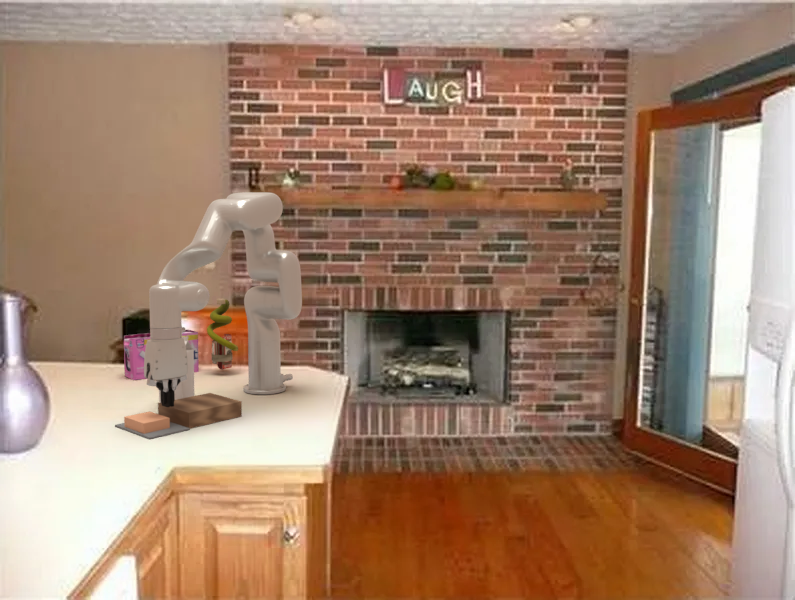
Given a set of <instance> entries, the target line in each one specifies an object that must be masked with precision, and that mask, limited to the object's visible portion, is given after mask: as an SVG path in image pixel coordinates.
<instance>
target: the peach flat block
mask: <svg viewBox="0 0 795 600" xmlns="http://www.w3.org/2000/svg"><path fill="white" fill-rule="evenodd" d="M123 419H124V420H123V423H124V425H125V427H127V428H130V429H132V430H135V431H138V432H141V433H143V434H145V433H149V432H154V431H158V430H162V429H167V428H170V418H168V417H165V416H162V415H159V414H158V413H156V412H154V411H153V412H152V411H150V410H149V411H144V412H141V413H135V414H132V415H126V416H124V417H123Z"/></svg>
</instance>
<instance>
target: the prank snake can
mask: <svg viewBox="0 0 795 600" xmlns="http://www.w3.org/2000/svg"><path fill="white" fill-rule="evenodd" d="M216 304H217V305H220V306H218V307H217V308H215V309H214V310H213V311H211V312H210V314H209V318H210V320H211V321H212V323H210V324H209V325H208V326H207V327H206V332H207V333H206V335H208V337H210V338H211V351H212V352H211V361H212V364H214V365H217V367H218V369H219V370H225V369H230V368H232V367H233V363H232V362H233V361H232V360H233V351H234V352H238V351H239V346H238V345H237V344H235V343H233V342H232V341H233V339H232V334H231V333H223V336H220V335H218V334H217V333H216V332H214V330H216V329H218V328H221V327H225V326H228V325H230V324H231V323H232V321H233V318H232V317H231V316H230V315H225V313H226V312H227V311H228V310H229V308H230V301H229V300H228V299H226V298H216Z"/></svg>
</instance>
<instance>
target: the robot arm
mask: <svg viewBox="0 0 795 600" xmlns="http://www.w3.org/2000/svg"><path fill="white" fill-rule="evenodd" d="M283 206H284V205H283V201H282V200H281V197H279V195H277V194H276V193H274V192H265V191H263V192H262V191H260V192H253V191H252V192H251V191H250V192H248V191H247V192H246V191H243V192H233V193H230V194H229V195H227V197H226V198H220V199H219V198H218V199H215V200H213V201H212V202H211V203H210V204H209V205H208V206H207V209H206V211H205V213H204V215H203V217H202V220H201V221H200V224H199V225H198V228H197V230H196V232H195V234H194V237H193V238H192V241H191V242H190V244H188V245H187V246H185V247H184V248H183V249H182V250H180V251H179V252H178V253H176V254H175V256H174V257H173V256H172V258H171V259H170V260H169V261H168V262H167V263H166V265H165V266H164V267H163V270H162V271H161V273H160V276H159V278H158V280H157V282H156V284H153V285H151V286H150V288H149V290H148V291H149V292H148V293H149V294H148V296H149V297H148V298H149V329H150V330H149V333H150V340H147V344H146V349H145V358H144V377H145V378H147V379H146V385H147V386H149V387H155V388H157V390H158V391H159V390H160V394H161V403H162V406H165V407H170V406H171V407H173V406H174V401H175V394H174V391H175V390H176V389H177V386H178V384H179V383H180V382H182V381H184V380H186V379H187V375H186V374H187V372H188V360H187V351H186V345H185V341H184V338H182V333H183V332H185V330H186V327H184V326H182V323H183V322H182V312H198V311H201V310H203V309H204V308H205V307H206V306H207V305H208V304H209V301H210V297H211V296H210V292H209V291H210V290H209V289H208V288H207V286H206V285H204V284H203V283H200V282H197V281H186V280H184V279H186V278H187V277H188V276H189V275H190V274H191V273H193V272H194V271H195V270H197V269H199V268H202V267H204V266H207V265H209V264H211V263H215V262H216V261H218V260H220V259H221V258H222V256H223V255H224V254H223V253H224V251H225V249H226V247H227V244H228V242H229V240H230V238H231V235H232V234H233V232H234V231H242V232H243V233H242V234H243V236H244V241H245V254H246V255H245V256H246V268H247V274H248V277H249V278H250V279H251V280H253V281H255V282H260V283H262V282H263V283H277V284H278V286H274V285H255V286H252V287H250V288H249V289H248V290H247V291H246V293H245V295H244V298H243V304H244V310H245V315H246V321H247V349H248V350H247V354H248V355H247V356H248V359H247V360H248V367H247V368H248V384H245V385H244V386H243V388H242V389H243V392H244V393H247V394H250V395H273V394H279V393H283V392H285V391H286V390H287V389H286V388H287V387H286V384H285V382H287V381H292V380H293V378H294V376H293V374H292V373H287V374H284V373H281V371H282V369H281V366H282V365H281V330H280V328H279V324H278V323H277V321H276V319H277V320H289V321H290V320H294V319H297V318H298V316H299V315H301V311H302V308H303V306H302V305H303V293H302V292H303V291H302V274H301V273H302V272H301V271H302V270H301V264H300V260H299V258H298V256H297V255H296V254H295V253H294V252H293V251H290V250H284V249H283V250H282V249H277V248H276V242H275V232H274V230H273V226H271V224H274V223H276V222H277V221H278V220H279V219H280V218H281V216H282V213H283V209H284V207H283Z"/></svg>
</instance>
